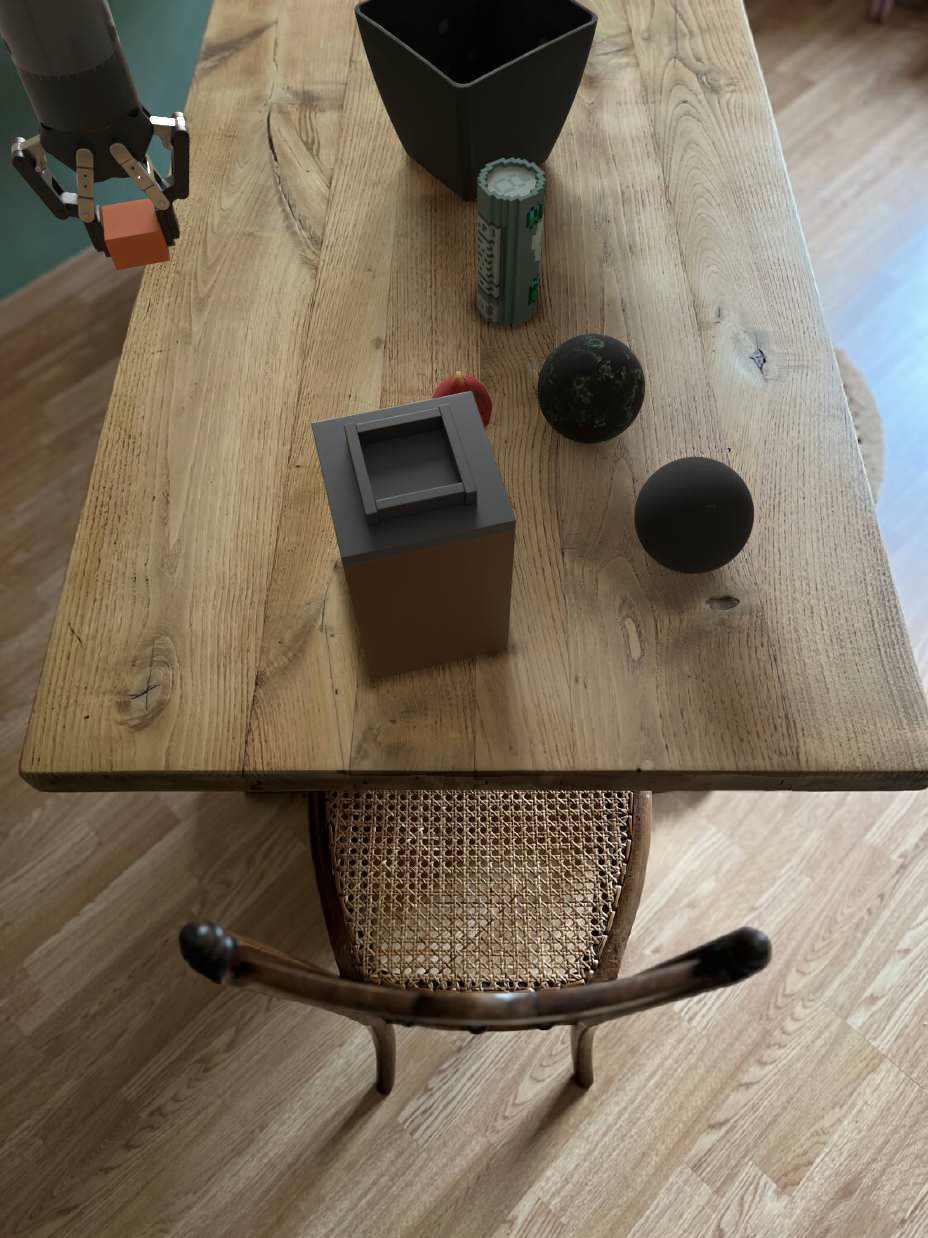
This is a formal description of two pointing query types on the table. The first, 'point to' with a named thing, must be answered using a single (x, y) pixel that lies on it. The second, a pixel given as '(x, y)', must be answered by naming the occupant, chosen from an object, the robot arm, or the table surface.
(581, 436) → the decorative stone
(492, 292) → the can
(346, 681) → the table surface
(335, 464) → the brown holder box
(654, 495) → the black ball
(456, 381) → the onion
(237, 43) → the table surface
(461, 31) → the flower pot
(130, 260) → the block
